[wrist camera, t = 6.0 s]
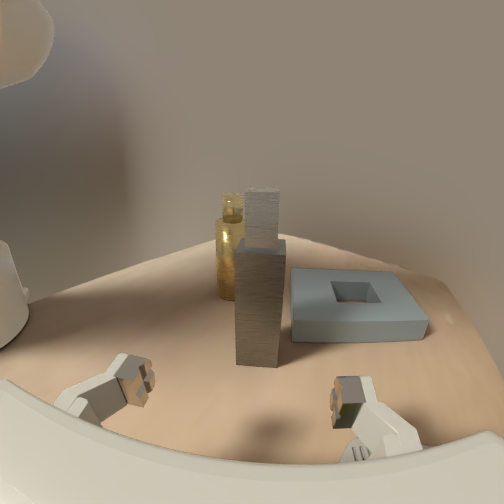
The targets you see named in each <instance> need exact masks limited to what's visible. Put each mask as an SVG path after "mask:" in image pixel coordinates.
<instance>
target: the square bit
mask: <svg viewBox="0 0 504 504" xmlns="http://www.w3.org/2000/svg"><path fill="white" fill-rule="evenodd" d="M279 190H280V189H279V188H253V187H249V188H248V189H247V190H246V191H245V238H241V240H240V242H239V244H238V246H237V248H236V250H235V252H234V254H235V333H236V365H245V366H258V367H273V368H277V361H278V351H279V340H280V328H281V316H282V304H283V290H284V276H285V261H286V243H285V240H283V239H278V218H279V192H280V191H279Z"/></svg>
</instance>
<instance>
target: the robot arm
mask: <svg viewBox="0 0 504 504" xmlns="http://www.w3.org/2000/svg"><path fill="white" fill-rule="evenodd" d="M53 39H54V25H53V21H52V18H51V16H50V14H49V13H48V12H47V11H46V10H45V8H44V7H43V6H42V4H41V3H40V0H0V89H1V88H4V87H6V86H10V85H13V84H16V83H19V82H22V81H25V80H28V79H30V78H31V77H32V76H33V75H34V74H35V73H36V72H37V71H38V70H39V68H40V67H41V66H42V65H43V63H44V62H45V60H46V58H47V56H48V54H49V52H50V49H51V47H52V44H53ZM29 299H30V293H29V291H28V289H27V288H22V286H21V283H20V280H19V278H18V275H17V272H16V269H15V266H14V263H13V260H12V257H11V253H10V250H9V247H8V245H7V244H6V243H4V242H3V241H1V239H0V348H1V347H3V346H4V345H6V344H7V343H8V342H10V341H11V340H12V339H13V338H14V337H15V336H16V335H17V334H18V333H19V332H20V331H21V330H22V328H23V327H24V325H25V324H26V322H27V319H28V316H29V309H28V305H27V303H28V301H29ZM151 367H152V363H151V360H149V359H146V358H142V357H137V356H133V355H129V354H125V353H120V354H118V355H117V357H116V358H115V360H114V361H113V362H112V364H111V365H110V366H109V368H108V369H107V371H106V372H105V373H101V374H98V375H96V376H94V377H92V378H89V379H87V380H85V381H83V382H80V383H78V384H76V385H74V386H71V387H69V388H67V389H64V391H63V392H62V393H61V394H60V396H59V397H58V398H57V400H56V401H55V402H54V404H53V405H51V404H49V403H47V402H45V401H43V400H41V399H40V398H38V397H36V396H34V395H33V394H31V393H29V392H27V391H26V390H24V389H22V388H21V387H19V386H18V385H16V384H14V383H13V382H11V381H10V380H8V379H5V378H2V379H0V504H504V438H502V437H501V436H499V435H497V434H496V433H494V432H492V431H490V430H484V431H481V432H478V433H476V434H473V435H470V436H467V437H465V438H462V439H459V440H456V441H453V442H449V443H446V444H443V445H439V446H436V447H432V448H428V449H424V450H423V448H422V445H421V442H420V439H419V436H418V433H417V430H416V428H414V427H413V426H412V425H410V424H409V423H408V422H407V421H405V420H404V419H403V418H402V417H400V416H399V415H398V414H397V413H395V412H394V411H393V410H392V409H390V408H389V407H388V406H387V405H385V404H384V403H383V402H382V401H381V402H378V398H377V395H376V392H375V388H374V385H373V382H372V379H371V376H370V375H364V376H341V377H336V378H335V381H334V386H335V387H334V388H333V389H332V391H331V395H330V409H331V410H332V411H333V414H332V416H331V419H332V427H333V429H339V428H351V429H352V430H353V432H354V433H355V434H356V435H357V436H358V437H359V439H360V440H361V441H362V442H363V443H364V444H365V446H366V447H367V448H368V449H369V450H370V451H371V452H372V454H371V455H370V457H369V458H368V459H367V460H363V461H354V462H344V463H329V464H271V463H256V462H245V461H236V460H228V459H221V458H214V457H208V456H202V455H197V454H191V453H187V452H182V451H177V450H173V449H169V448H165V447H161V446H157V445H153V444H150V443H146V442H143V441H140V440H136V439H133V438H130V437H127V436H124V435H121V434H118V433H115V432H113V431H110V430H107V429H104V428H103V426H102V425H101V422H102V421H104V420H105V419H107V418H108V417H110V416H111V415H113V414H114V413H116V412H117V411H119V410H120V409H122V408H123V407H125V406H126V405H127V404H131V405H134V406H138V407H143V408H144V406H145V404H146V402H147V400H148V395H147V393H149V392H151V391H152V390H153V388H154V385H155V374H154V372H153V371H152V370H151Z"/></svg>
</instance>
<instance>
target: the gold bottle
mask: <svg viewBox="0 0 504 504" xmlns="http://www.w3.org/2000/svg"><path fill="white" fill-rule="evenodd" d="M222 199H223V201H222V205H223V207H222V208H223V218H220V219H217V220H216V221H215V225H216V263H217V290H218V296H219V297H221V298H222V299H225V300H230V301H235V254H234V252H235V250H236V248H237V246H238V244H239V242H240V240H241V238H245V218H242V217H243V215H242V214H243V212H242V211H243V194H241V193H225V194H223V195H222Z"/></svg>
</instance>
